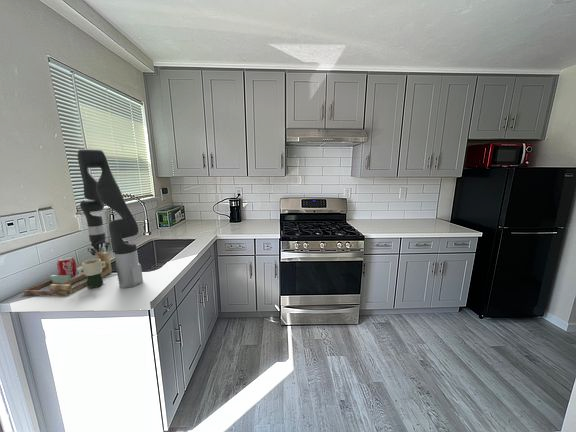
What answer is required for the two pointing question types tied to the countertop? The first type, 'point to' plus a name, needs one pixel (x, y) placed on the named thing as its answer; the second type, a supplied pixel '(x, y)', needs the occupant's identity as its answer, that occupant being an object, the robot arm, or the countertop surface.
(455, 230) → the countertop surface
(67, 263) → the soda can
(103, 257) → the oak sled
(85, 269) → the character mug
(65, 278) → the sage sled
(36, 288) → the frame
